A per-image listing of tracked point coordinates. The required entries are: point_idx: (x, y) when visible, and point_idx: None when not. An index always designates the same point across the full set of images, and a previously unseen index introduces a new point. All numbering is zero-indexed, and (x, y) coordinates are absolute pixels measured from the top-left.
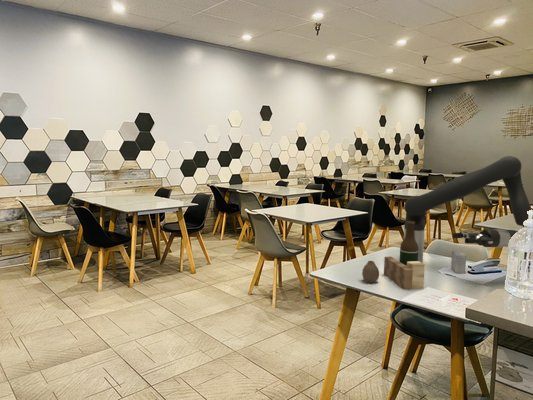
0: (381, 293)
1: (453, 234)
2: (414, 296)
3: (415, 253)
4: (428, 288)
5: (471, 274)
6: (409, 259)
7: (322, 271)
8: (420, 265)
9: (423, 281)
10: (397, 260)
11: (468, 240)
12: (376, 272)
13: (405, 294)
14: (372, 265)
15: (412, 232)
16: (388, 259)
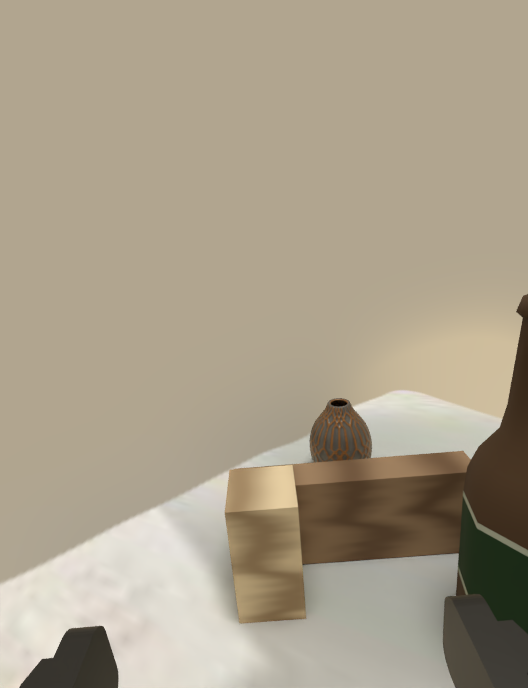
0: (221, 475)
1: (450, 605)
2: (161, 550)
3: (483, 535)
4: (237, 652)
5: None
6: (463, 540)
7: (426, 400)
8: (227, 498)
9: (235, 590)
10: (399, 477)
11: (40, 678)
12: (314, 442)
13: (191, 529)
14: (323, 413)
15: (521, 382)
16: (416, 456)
